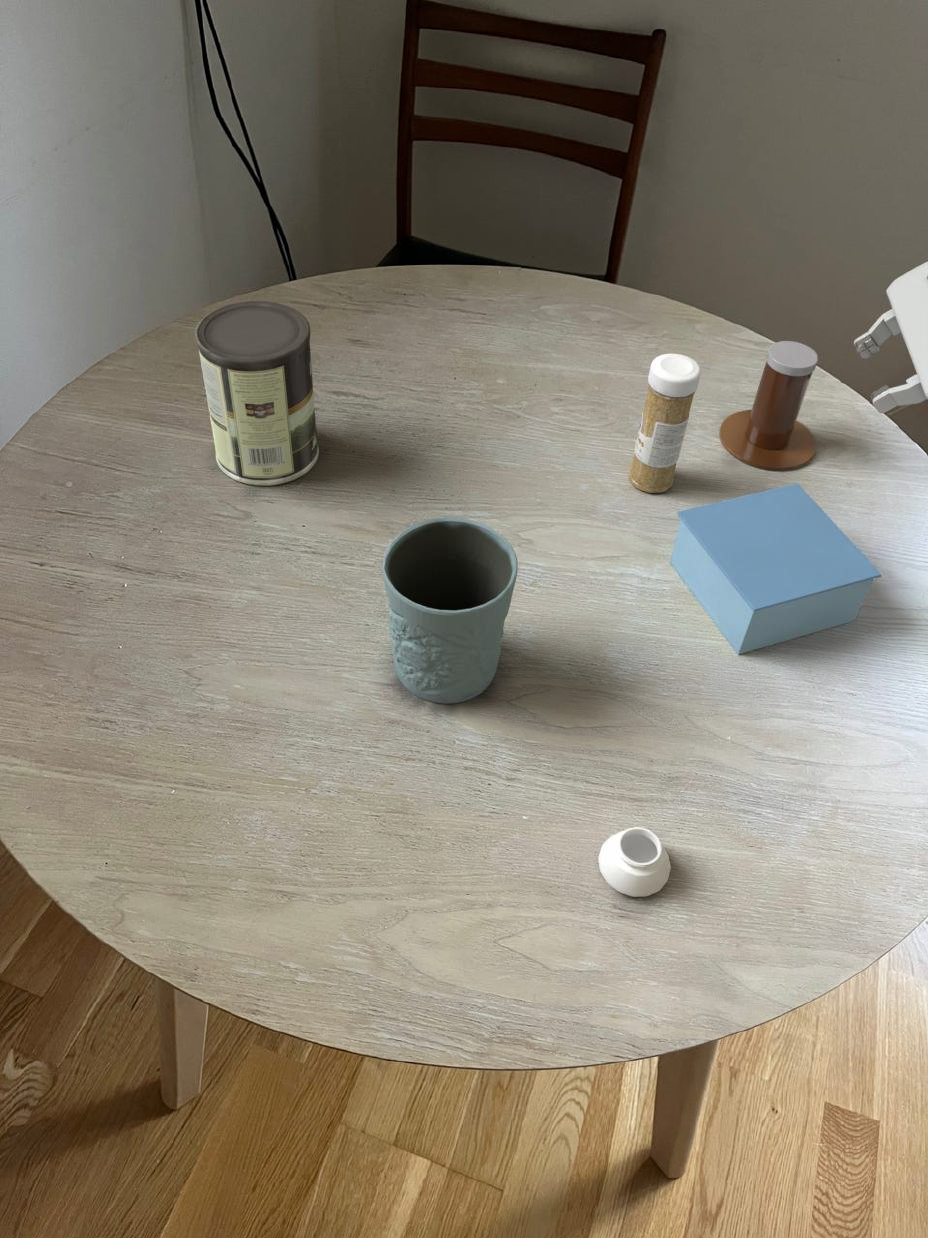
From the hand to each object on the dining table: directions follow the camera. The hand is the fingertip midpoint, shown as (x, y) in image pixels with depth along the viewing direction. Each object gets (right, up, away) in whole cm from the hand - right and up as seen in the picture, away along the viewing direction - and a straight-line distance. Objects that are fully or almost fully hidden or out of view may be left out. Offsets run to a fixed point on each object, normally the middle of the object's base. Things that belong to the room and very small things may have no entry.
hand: (865, 376), depth 103 cm
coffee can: (-59, -7, +2) cm, 60 cm away
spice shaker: (-8, -5, +7) cm, 11 cm away
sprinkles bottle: (-21, -10, +2) cm, 23 cm away
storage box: (-13, -21, -9) cm, 26 cm away
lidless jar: (-28, -42, -28) cm, 57 cm away
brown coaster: (-8, -5, +7) cm, 12 cm away
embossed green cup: (-41, -28, -16) cm, 52 cm away
